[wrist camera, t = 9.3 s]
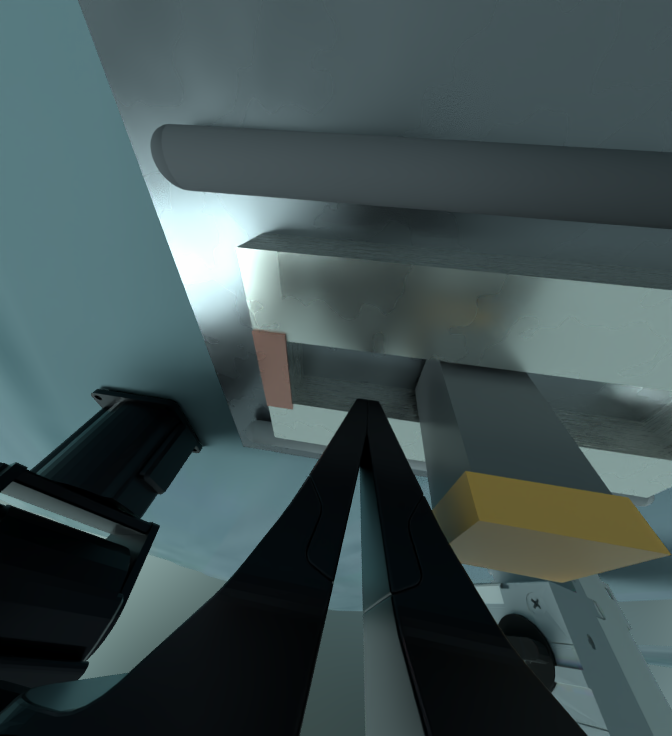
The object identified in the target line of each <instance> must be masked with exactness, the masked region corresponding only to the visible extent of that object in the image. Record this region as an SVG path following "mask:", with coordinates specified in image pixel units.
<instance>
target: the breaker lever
mask: <svg viewBox="0 0 672 736" xmlns="http://www.w3.org/2000/svg"><path fill="white" fill-rule="evenodd" d="M415 394H416V401H417V408H418V415H419V421H420V428H421V435H422V442H423V449H424V455H425V462H426V469H427V476H428V482H429V489H430V496H431V503H432V509H433V510H432V512H433V514H434V516H435V518H436V520H437V522H438V524H439V526H440V528H441V530H442V531H443V533H444V535H445V537H446V538H447V540H448V542H449V544H450V545H451V547H452V549H453V551H454V552H455V554H456V556H457V558H458V559H459V561H460V563H462V564H467V565H472V566H477V567H483V568H488V569H493V570H498V571H503V572H508V573H514V574H519V575H524V576H529V577H534V578H539V579H544V580H550V581H555V582H560V583H563V582H567V581H571V580H575V579H579V578H583V577H587V576H591V575H595V574H598V573H602V572H606V571H610V570H614V569H618V568H622V567H626V566H630V565H634V564H638V563H642V562H646V561H649V560H653V559H657V558H661V557H665V556H669V555H671V554H670V552H669V551H668V550H667V548H666V547H665V546H664V544H663V543H662V542H661V540H660V539H659V538H658V536H657V535H656V534H655V532H654V531H653V530H652V528H651V527H650V526H649V524H648V523H647V522H646V520H645V519H644V518H643V516H642V515H641V514H640V512H639V511H638V510H637V508H636V507H635V505H634V504H633V503H632V501H631V500H630V499H629V498H628V497H622V496H616V495H612V493H611V492H610V490H609V489H608V488H607V486H606V485H605V483H604V482H603V481H602V479H601V478H600V476H599V475H598V473H597V472H596V471H595V469H594V468H593V466H592V465H591V464H590V462H589V461H588V459H587V458H586V456H585V455H584V454H583V452H582V451H581V449H580V448H579V447H578V445H577V444H576V442H575V441H574V439H573V438H572V437H571V435H570V434H569V432H568V431H567V430H566V428H565V427H564V425H563V424H562V422H561V421H560V420H559V418H558V417H557V415H556V414H555V413H554V411H553V410H552V408H551V407H550V406H549V404H548V403H547V401H546V400H545V398H544V397H543V396H542V394H541V393H540V391H539V390H538V389H537V387H536V386H535V384H534V383H533V381H532V380H531V379H530V377H529V376H528V374H527V373H526V372H521V371H513V370H505V369H497V368H490V367H482V366H474V365H466V364H459V363H451V362H443V361H435V360H428V359H426V362H425V365H424V367H423V370H422V372H421V375H420V378H419V380H418V383H417V386H416V388H415Z"/></svg>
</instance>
